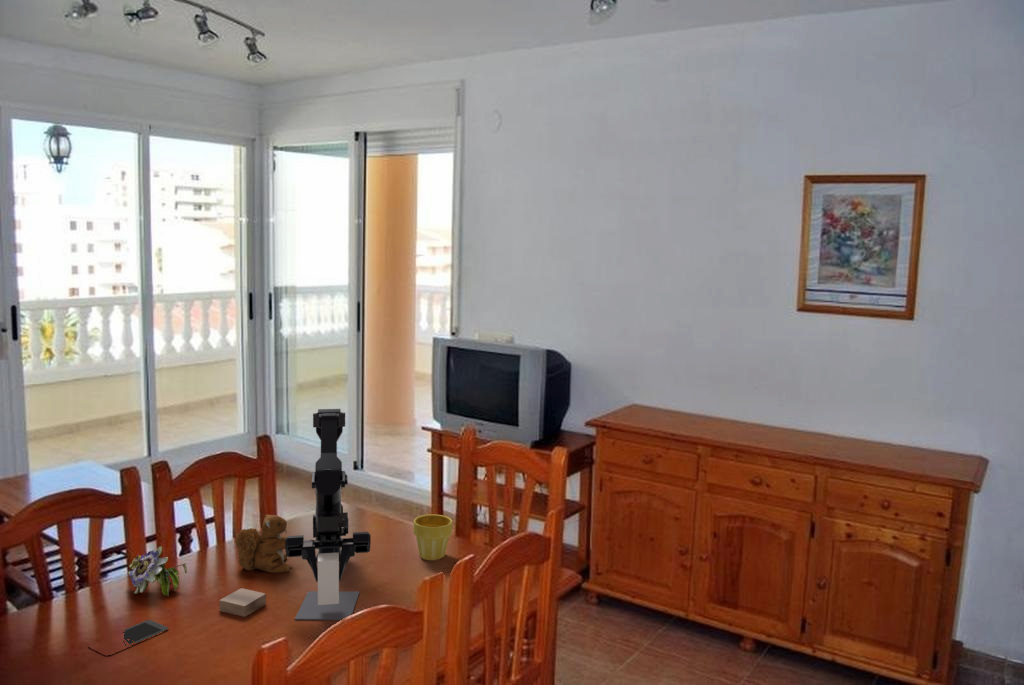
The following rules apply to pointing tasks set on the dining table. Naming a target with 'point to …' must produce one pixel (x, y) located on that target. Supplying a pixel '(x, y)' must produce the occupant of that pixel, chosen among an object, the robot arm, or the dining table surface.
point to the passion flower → (153, 572)
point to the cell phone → (143, 631)
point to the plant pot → (432, 535)
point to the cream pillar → (328, 578)
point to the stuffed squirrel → (263, 546)
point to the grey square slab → (242, 602)
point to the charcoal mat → (327, 607)
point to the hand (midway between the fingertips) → (328, 580)
